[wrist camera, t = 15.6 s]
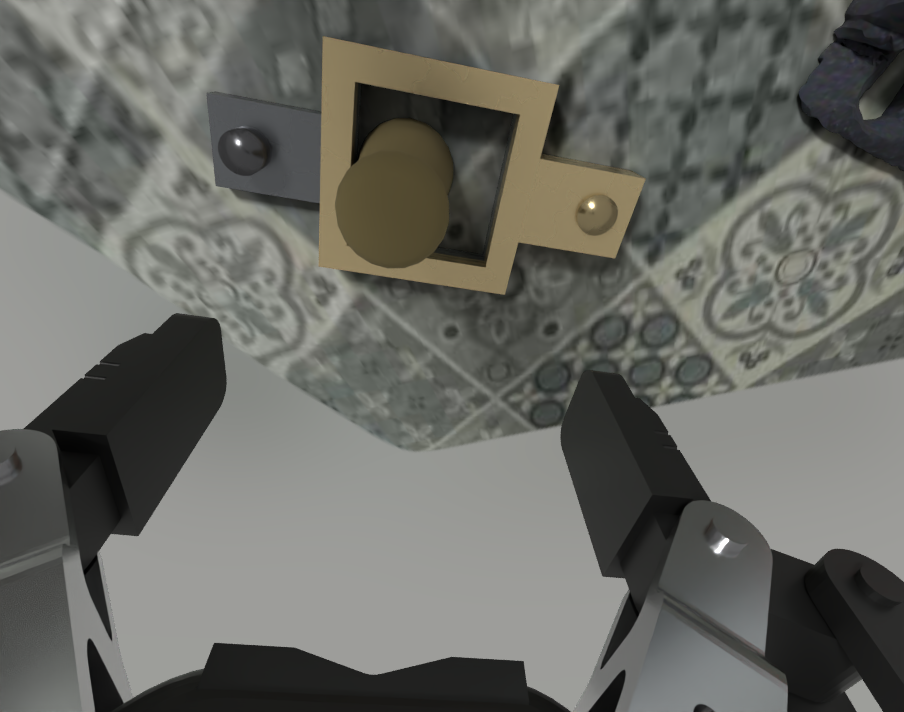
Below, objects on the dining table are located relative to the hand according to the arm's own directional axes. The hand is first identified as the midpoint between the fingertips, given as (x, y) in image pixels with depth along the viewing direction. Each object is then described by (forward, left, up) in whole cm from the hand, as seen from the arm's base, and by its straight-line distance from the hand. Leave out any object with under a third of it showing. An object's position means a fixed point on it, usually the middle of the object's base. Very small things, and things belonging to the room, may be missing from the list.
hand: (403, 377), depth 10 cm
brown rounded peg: (0, -1, -22) cm, 22 cm away
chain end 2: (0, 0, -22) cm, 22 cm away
